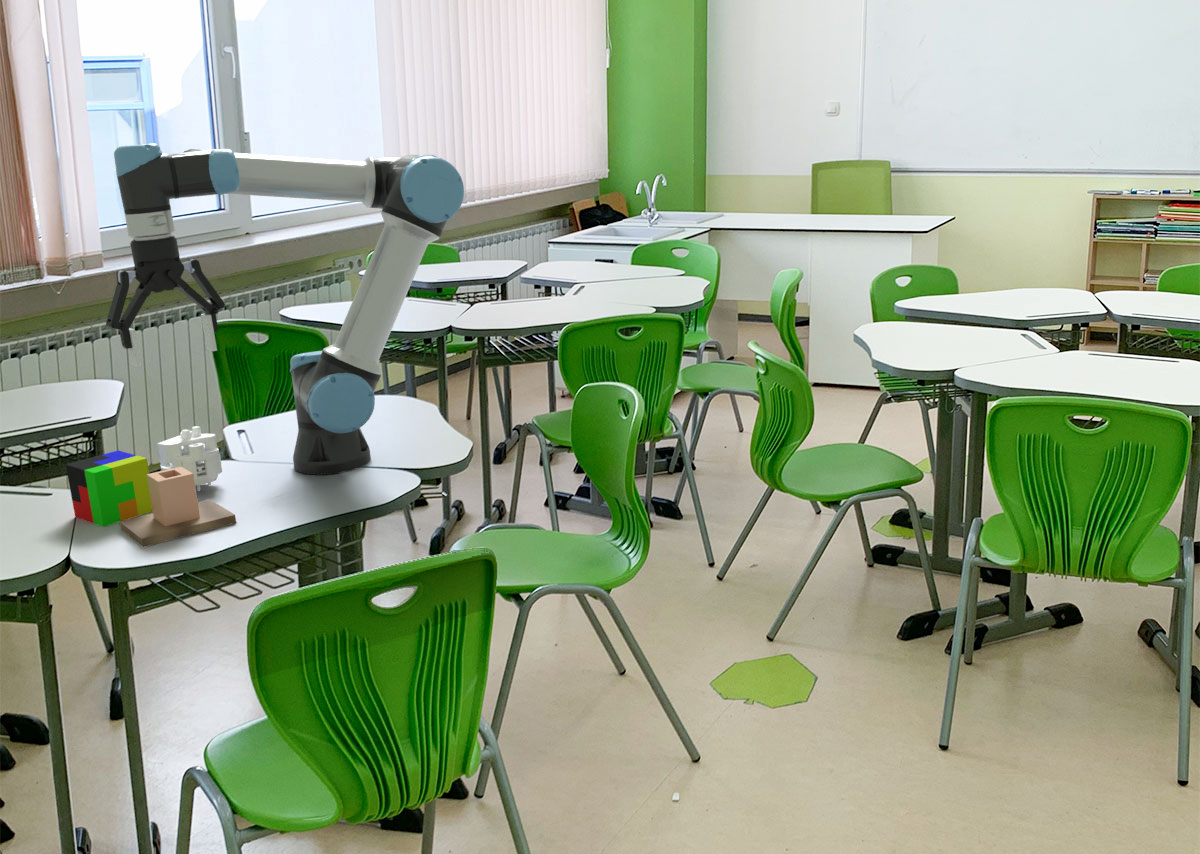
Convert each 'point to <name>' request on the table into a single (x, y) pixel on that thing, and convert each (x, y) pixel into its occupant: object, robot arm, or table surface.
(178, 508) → the peach block with hole
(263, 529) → the table surface
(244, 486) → the table surface
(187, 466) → the mechanical part
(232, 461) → the table surface
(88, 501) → the puzzle toy
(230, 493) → the table surface
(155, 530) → the shaft plate
